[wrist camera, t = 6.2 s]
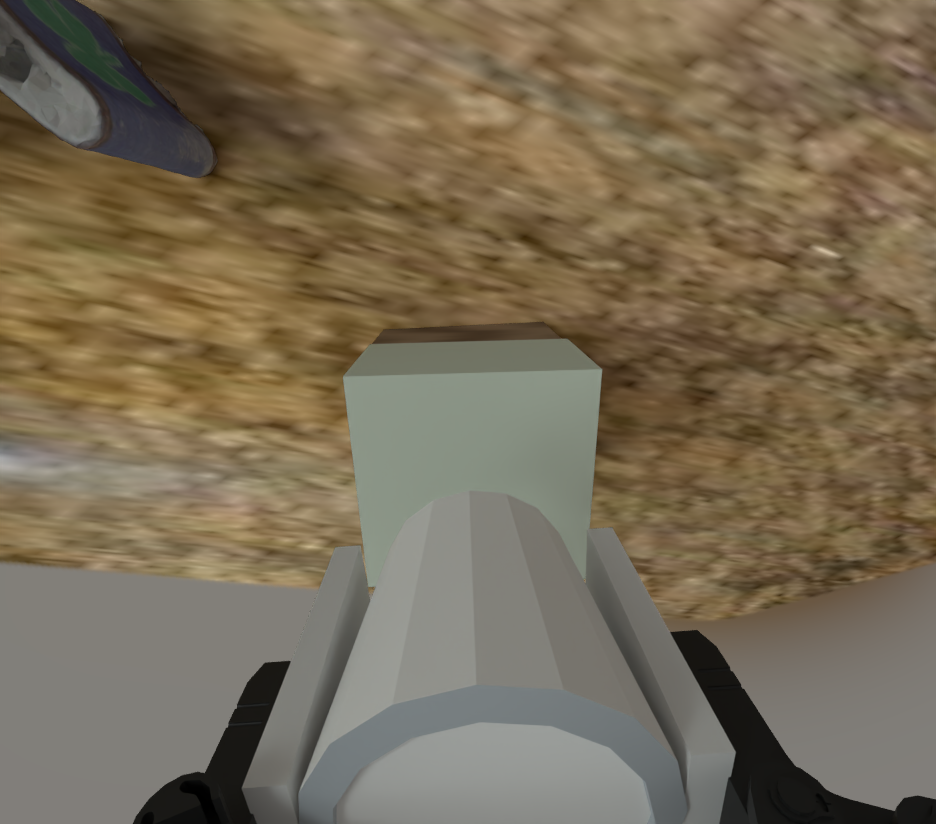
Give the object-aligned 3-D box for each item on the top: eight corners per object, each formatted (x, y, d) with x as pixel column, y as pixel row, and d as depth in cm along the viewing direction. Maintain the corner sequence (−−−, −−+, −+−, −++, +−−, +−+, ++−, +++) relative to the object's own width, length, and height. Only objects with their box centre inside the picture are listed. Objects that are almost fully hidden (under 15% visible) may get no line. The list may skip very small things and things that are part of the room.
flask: (228, 158, 26) (79, 104, 15) (193, 195, 26) (26, 165, 16) (86, -8, 23) (-206, -204, 13) (49, 36, 23) (-257, -118, 13)
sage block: (386, 514, 27) (368, 586, 21) (370, 344, 23) (342, 376, 18) (558, 508, 27) (585, 579, 21) (567, 338, 24) (602, 369, 18)
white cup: (529, 432, 13) (603, 626, 6) (618, 602, 15) (740, 877, 9) (324, 531, 14) (207, 787, 7) (435, 677, 16) (420, 976, 10)
